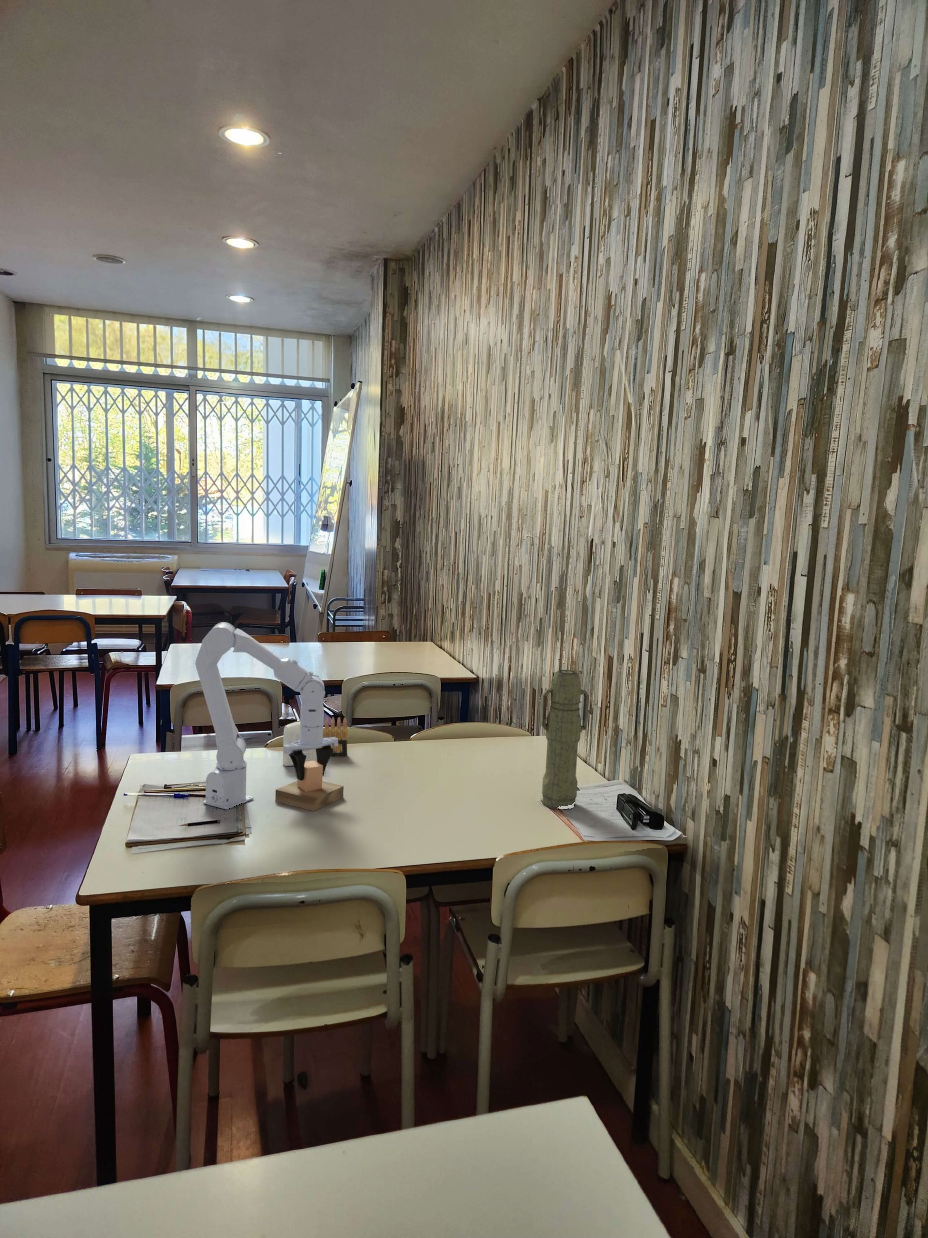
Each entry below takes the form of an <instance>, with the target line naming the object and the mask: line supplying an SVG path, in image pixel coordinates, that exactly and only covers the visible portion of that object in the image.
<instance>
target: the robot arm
mask: <svg viewBox="0 0 928 1238" xmlns="http://www.w3.org/2000/svg"><path fill="white" fill-rule="evenodd" d="M232 648H233V650H232V653H245V654H248V655H249V656H250V657H252V658H254V659H256V660H257V661H259V662H260V663H262V664H263V665H265V666H266V667H268V668H270V669H271V670H273V676H274V678H275V679H277V680H278V681H280V682H281V683H283V684H284V685H286V686H287V687H289V688H290V689H292V690H293V691H294V692H298V693H300V697H301V706H300V717H299V721H300V741H297V742H294V743H290V744H287V745H282V754H283V753H285V754H289V756H290V758H291V760H292V762H293V765H292V766H293V767H294V771H295V775H296V780H297V779H299V780H300V781H302V780H303V779H304V765H305V760H306V757H307V756H306V755H304V754H303V753H302V751H306V750H312V749H316V755H317V762H318V763H319V764H321V765H323V776H322V777H324V776H325V772H326V768H327V765H328V763H329V761H330V759H331V758H332V757H331V755H332V754H333V749H332V748H331V746H338V739H337V738H336V736H335V737H330V736H329V738H324V737H323V730H324V720H325V719H324V717H325V716H324V714H325V713H324V712H325V708H324V703H325V701H324V697H325V695H326V691H325V683H324V681H323V679H322V678H321V677H320V676H319V675H317V674H314V672H313V671H308V670H306V669H305V668H303V667H302V666H301V665H299V664H298V663H299V661H298V660H296V659H295V658H293V659H291V658H280V657H279V656H277V655H276V654H275V653H274V652H272V651H271V650H269V649H268V648H267V647H266V646H265V645H263V644H262V643H260V642H259V641H257V640H256V639H255V638H254V637H252V636H251V635H250V634H248V633H246V632H245V631H244V630H242V629H240V628H236V627H235V626H234V625H232V624H231V623H229V622H224V621H223V622H218V623H217V624H215V625H214V626H212V628H211V630H210V631H208V633H207V634H206V635H205V637H204V638H203V639H202V641H201V645H200V648H199V650H198V653H197V657H196V659H195V663H194V664H195V668H196V671H197V675H198V678H199V682H200V686H201V689H202V692H203V696H204V699H205V702H206V706H207V709H208V712H209V715H210V719H211V722H212V726H213V730H214V733H215V743H216V744H215V745H216V747H217V750H216V751H217V753H216V755H215V756H216V761H217V762H216V764H215V767H214V769H213V770H212V771H211V772H209V773H207V776H206V777H205V779H206V780H205V800H204V801H202V803H203V804H204V805H209V806H212V807H217V808H220V809H223V810H229V808H230V809H232V808H235V807H237V806H239V804H240V805H242V804H244V803H247V802H249V801H252V800H254V798H255V797H254V796H251V795H247V766H248V765H247V762H246V760H245V759H244V757H245V756H244V755H245V753H246V750H247V744H246V743H247V742H246V741H245V739H244V738H243V737H242V736H241V735H240V733H239V730H238V728H237V725H236V724H235V721H234V718H233V714H232V711H231V707H230V704H229V701H228V696H227V694H226V689H225V687H224V683H223V680H222V677H221V673H220V670H219V667H218V664H219V661H220V660H221V658H222V657H223V656H224V655H225V654H227V653H228V652H229V651H230V650H231V649H232ZM241 803H242V804H241ZM236 805H237V806H236ZM234 806H235V807H234Z"/></svg>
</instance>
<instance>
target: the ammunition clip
mask: <svg viewBox="0 0 928 1238" xmlns="http://www.w3.org/2000/svg"><path fill="white" fill-rule="evenodd" d="M341 720H342V719H341V717H340V716H339V717H338V718H337V722H336V721H335V717H334V716H332V718H331V721H330V720H329V717H328V716H326V717H325V721H324V728H323V738H330V737H335V738H337V739H338V746H331V748H332V749H333V754H332V755H331V757H330V758H332V757H333V758H335V757H337V758H339V757H340V758H342V757H343V758H345V757H346V758H347V757H348V723H347V721H348V720H347V717H346V716H344V718H343V722H342V721H341Z"/></svg>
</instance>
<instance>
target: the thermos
mask: <svg viewBox="0 0 928 1238" xmlns="http://www.w3.org/2000/svg"><path fill="white" fill-rule="evenodd" d="M549 694H550V702H551V703H550V705H549V711H548V712H547V710H548V708H547V707H548V695H549ZM541 695H542V696H541V697H542V699H541V716H540V717H541V718H540V726H541V727H542V728H543V729H544V730H545V732H546V733H545V738H546V741H547V742H546V743H547V745H546V758H545V759H546V760H545V772H544V775H543V777H542V787H541V794H542V799H541V804H542V805H543V806H544V807H545V808H548V809H551V810H556V809H557V807H559V806H560V807H561V806H568V805H572V804H573V803H574V802H575V803H576V798H577V794H578V780H577V776H576V775H577V763H578V750H579V749H578V748H579V742H580V740H581V734H582V733H583V731H586V730H587V725H588V717H589V701H590V695H589V694H588V692H587V691H586V690H585V689H582V681H581V677H580V673H579V672H577V671H575V670H570V669H560V670H559V669H558V670H557V671H555V672H554V675H553V677H552V680H551V687H550V688H547V689H545V690H544V691H543V693H542V694H541ZM581 695H583V703H582V704H583V706H582V707H583V709H582V717H581V714H580V711H581V708H580V703H581V698H582V697H581Z"/></svg>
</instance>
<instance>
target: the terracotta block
mask: <svg viewBox="0 0 928 1238" xmlns="http://www.w3.org/2000/svg"><path fill="white" fill-rule="evenodd" d="M323 777H324V776H323V765H321V764H319V763H318V762H316V761H314V760H313V761H308V762H305V765H304V779H303V780H302V781H300V780H299V779H297V778H296V781H297V786H298V787H299V788H301V789H303V790H304V791H306V792H307V791H312V790H316V789H321V788H322V781H323Z"/></svg>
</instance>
